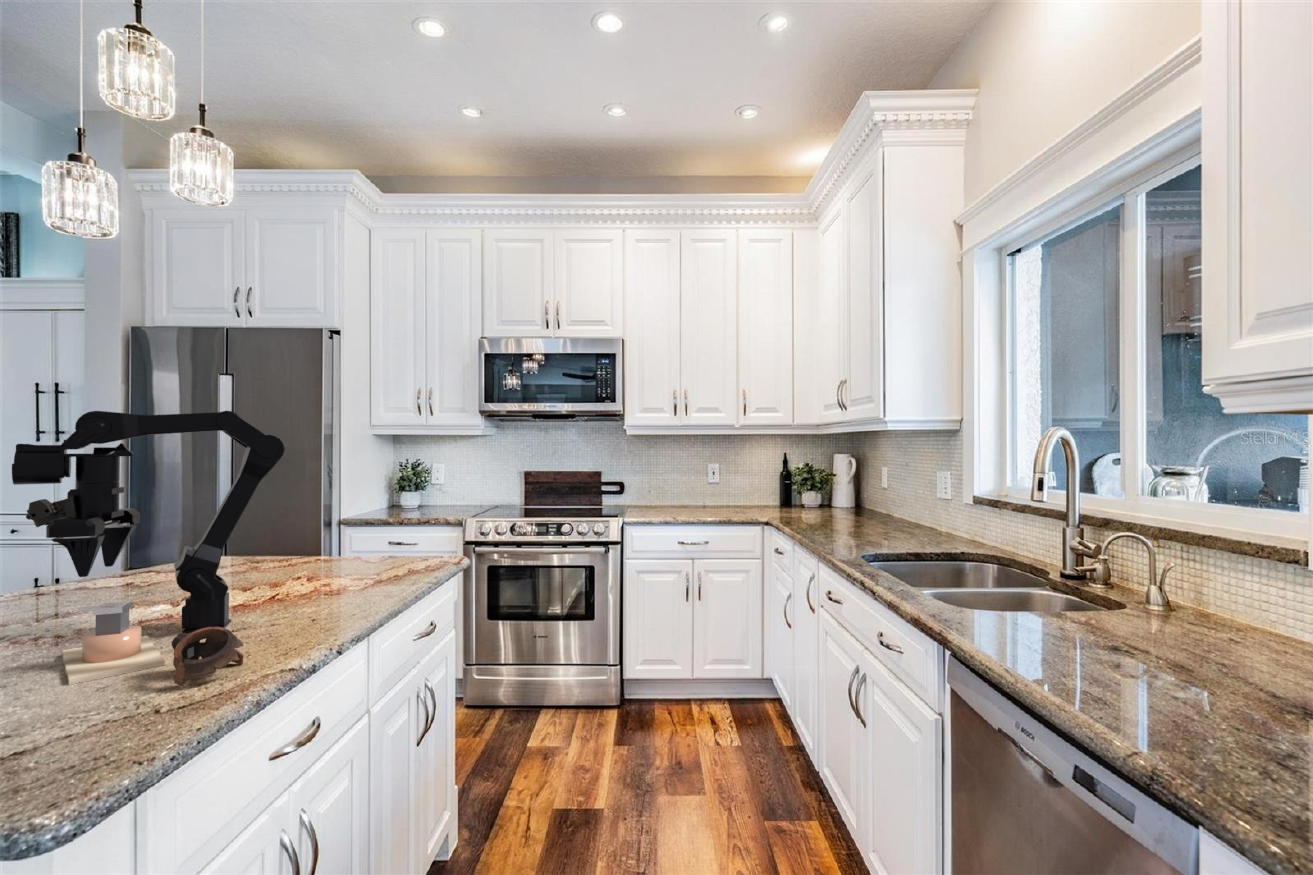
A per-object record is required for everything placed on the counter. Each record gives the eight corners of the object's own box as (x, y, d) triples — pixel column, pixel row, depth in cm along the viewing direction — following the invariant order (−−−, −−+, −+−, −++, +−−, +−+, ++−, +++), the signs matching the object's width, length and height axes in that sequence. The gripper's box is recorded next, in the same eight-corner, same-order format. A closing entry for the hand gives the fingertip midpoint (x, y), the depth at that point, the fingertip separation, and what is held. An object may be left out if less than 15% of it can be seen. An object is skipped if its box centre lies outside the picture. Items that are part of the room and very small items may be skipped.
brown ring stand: (263, 666, 98) (255, 630, 94) (211, 715, 90) (199, 677, 86) (202, 643, 100) (191, 607, 96) (145, 688, 92) (130, 650, 88)
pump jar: (148, 645, 104) (149, 604, 104) (130, 659, 97) (130, 615, 97) (94, 651, 101) (95, 608, 101) (72, 665, 94) (73, 620, 94)
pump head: (132, 626, 102) (132, 601, 102) (121, 632, 98) (122, 606, 98) (84, 630, 99) (85, 604, 99) (72, 637, 96) (73, 610, 96)
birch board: (61, 655, 101) (61, 650, 101) (147, 640, 109) (147, 635, 109) (69, 684, 89) (69, 679, 89) (164, 665, 97) (164, 660, 97)
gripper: (67, 480, 112) (65, 564, 112) (3, 487, 95) (2, 587, 95) (141, 479, 116) (140, 560, 116) (94, 485, 99) (92, 581, 99)
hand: (96, 571), depth 106 cm, fingers open, 9 cm apart
